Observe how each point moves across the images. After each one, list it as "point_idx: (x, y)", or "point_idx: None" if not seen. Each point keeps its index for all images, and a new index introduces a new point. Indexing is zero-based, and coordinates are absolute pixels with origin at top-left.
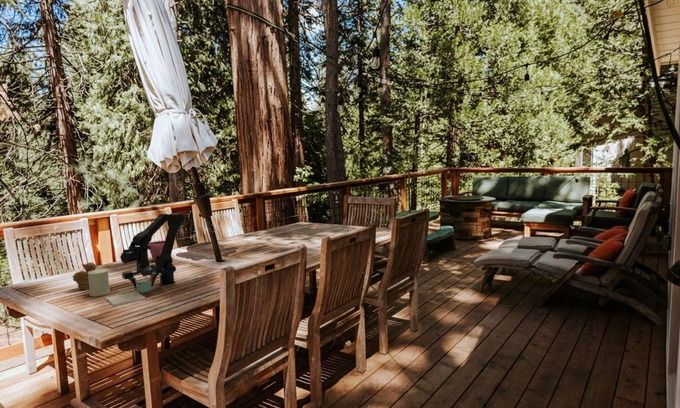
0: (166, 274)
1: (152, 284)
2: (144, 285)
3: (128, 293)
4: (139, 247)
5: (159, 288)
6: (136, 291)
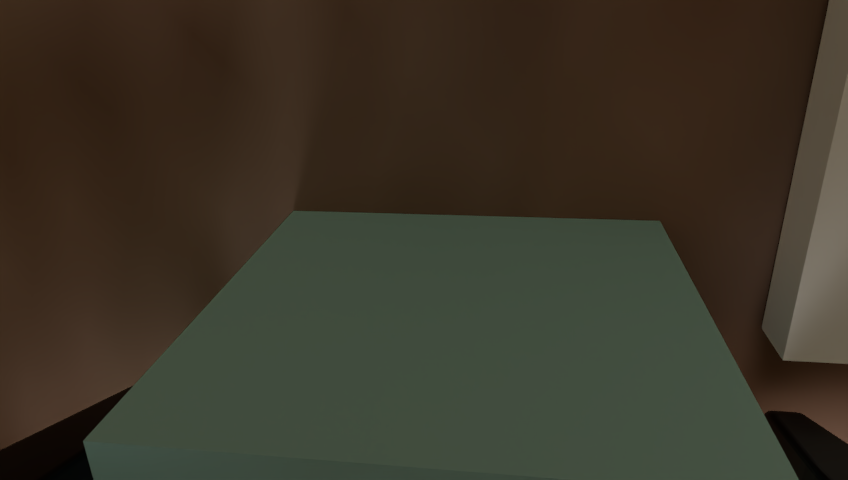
0: None
1: None
2: (495, 357)
3: None
4: None
5: (13, 253)
6: (803, 334)
